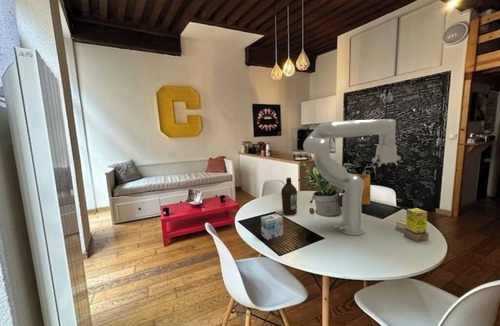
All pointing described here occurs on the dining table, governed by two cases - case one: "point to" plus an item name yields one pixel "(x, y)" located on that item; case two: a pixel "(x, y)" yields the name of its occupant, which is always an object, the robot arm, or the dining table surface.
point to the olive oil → (289, 198)
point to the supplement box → (416, 221)
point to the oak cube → (401, 225)
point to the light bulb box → (272, 226)
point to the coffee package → (365, 189)
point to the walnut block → (416, 236)
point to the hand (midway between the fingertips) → (385, 173)
